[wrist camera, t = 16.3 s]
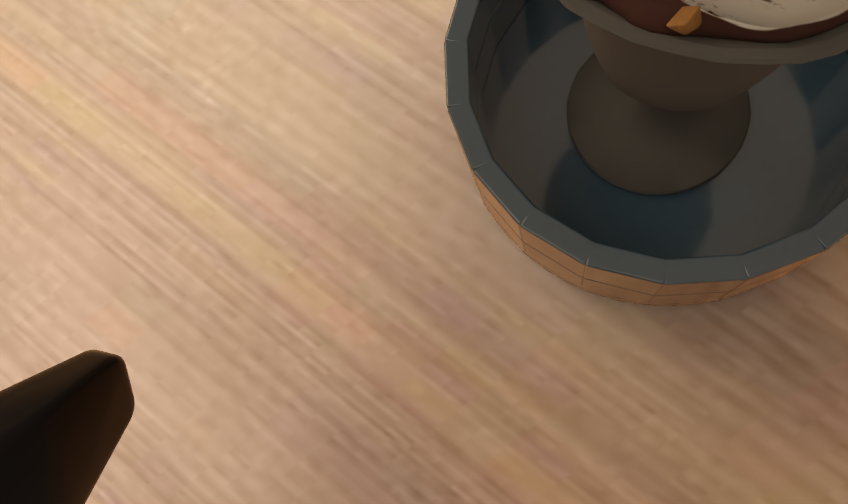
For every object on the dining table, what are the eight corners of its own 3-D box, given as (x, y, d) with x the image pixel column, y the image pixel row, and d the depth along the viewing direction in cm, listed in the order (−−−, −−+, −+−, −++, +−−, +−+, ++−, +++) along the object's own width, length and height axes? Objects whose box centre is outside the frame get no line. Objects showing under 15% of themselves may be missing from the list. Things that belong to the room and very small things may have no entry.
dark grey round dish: (966, 127, 20) (1062, 60, 16) (639, 390, 20) (657, 386, 16) (675, -133, 23) (698, -241, 19) (391, 98, 23) (357, 37, 19)
